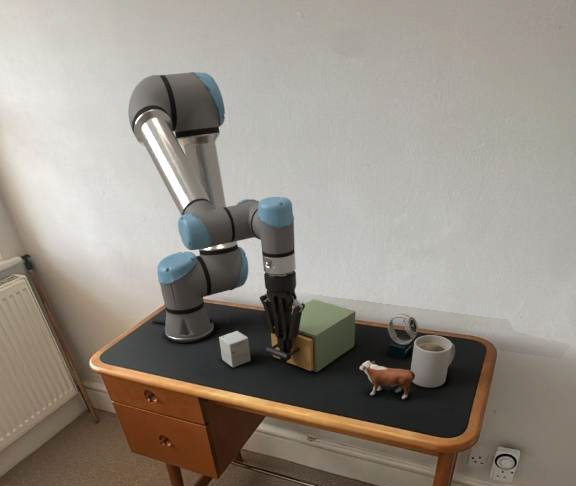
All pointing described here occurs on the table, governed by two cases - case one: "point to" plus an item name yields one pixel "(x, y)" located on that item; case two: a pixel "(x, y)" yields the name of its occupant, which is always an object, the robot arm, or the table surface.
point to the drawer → (296, 351)
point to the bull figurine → (388, 377)
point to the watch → (402, 345)
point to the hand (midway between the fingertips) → (285, 359)
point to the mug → (431, 360)
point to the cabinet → (328, 330)
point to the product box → (235, 349)
